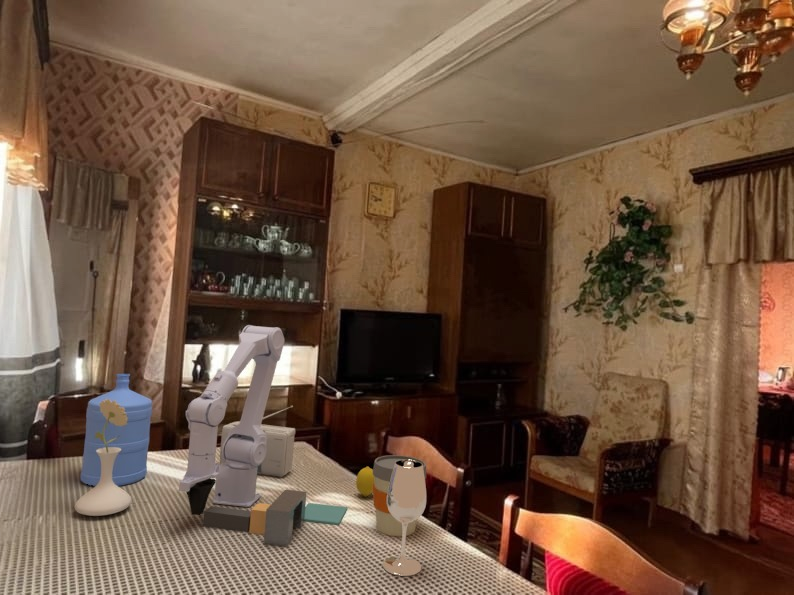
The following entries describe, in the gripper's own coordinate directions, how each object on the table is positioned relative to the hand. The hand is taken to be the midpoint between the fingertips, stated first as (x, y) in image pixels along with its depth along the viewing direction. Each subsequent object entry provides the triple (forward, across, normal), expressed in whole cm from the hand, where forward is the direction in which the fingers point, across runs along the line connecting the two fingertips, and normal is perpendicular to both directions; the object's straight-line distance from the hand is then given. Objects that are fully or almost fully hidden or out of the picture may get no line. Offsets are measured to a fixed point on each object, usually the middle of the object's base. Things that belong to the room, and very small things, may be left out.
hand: (197, 513), depth 113 cm
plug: (+2, 0, -15) cm, 15 cm away
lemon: (+2, +27, -34) cm, 43 cm away
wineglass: (+2, -9, -47) cm, 48 cm away
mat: (+2, +12, -26) cm, 29 cm away
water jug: (+2, +21, +34) cm, 40 cm away
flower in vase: (+2, +1, +23) cm, 23 cm away
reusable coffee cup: (+2, +9, -44) cm, 45 cm away
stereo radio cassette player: (+2, +39, +1) cm, 39 cm away
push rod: (+2, 0, -7) cm, 8 cm away
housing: (+2, 0, -20) cm, 20 cm away
